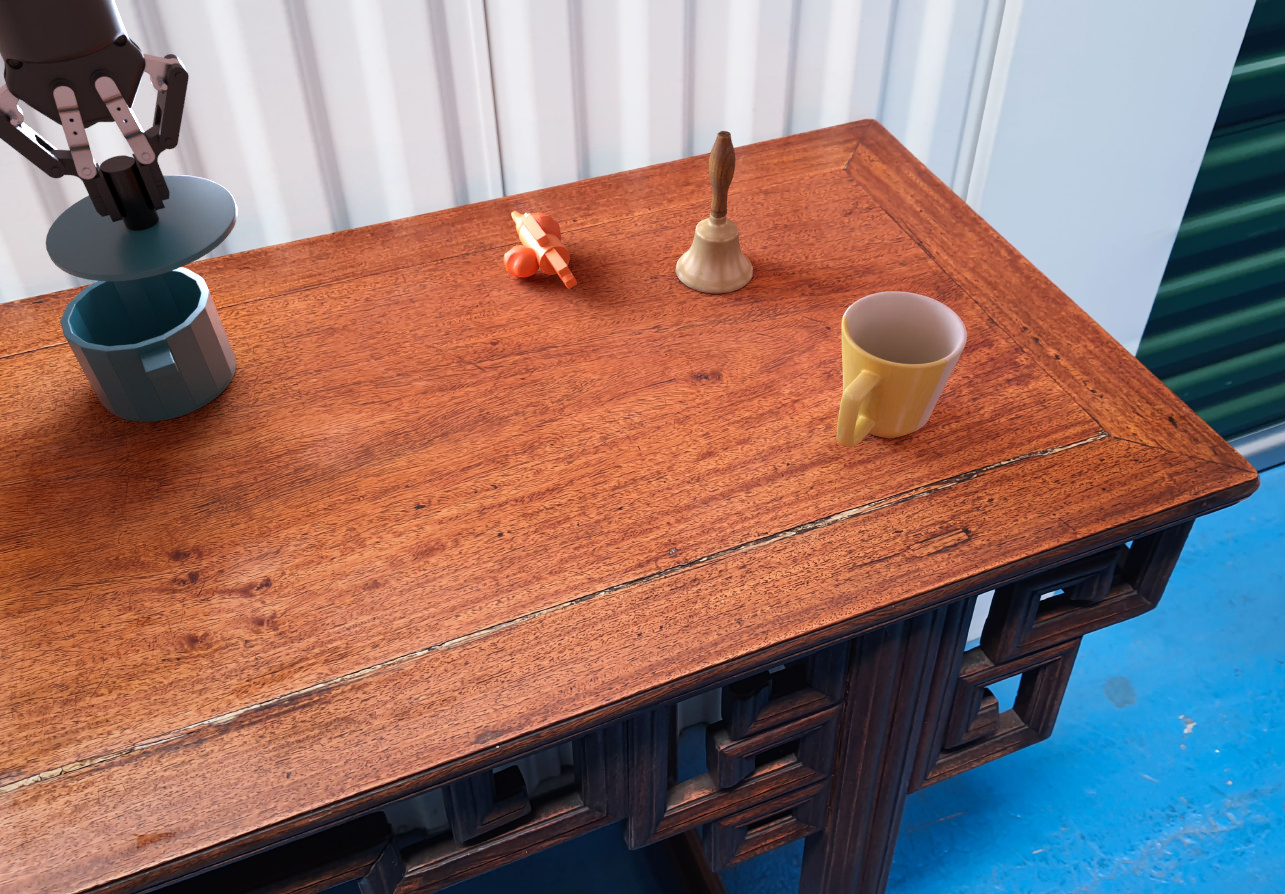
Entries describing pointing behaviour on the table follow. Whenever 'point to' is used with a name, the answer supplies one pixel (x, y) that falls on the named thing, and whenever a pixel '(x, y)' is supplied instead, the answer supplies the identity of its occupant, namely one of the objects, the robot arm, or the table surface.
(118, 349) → the pot
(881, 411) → the mug
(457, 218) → the table surface
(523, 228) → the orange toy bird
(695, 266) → the hand bell
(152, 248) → the lid
